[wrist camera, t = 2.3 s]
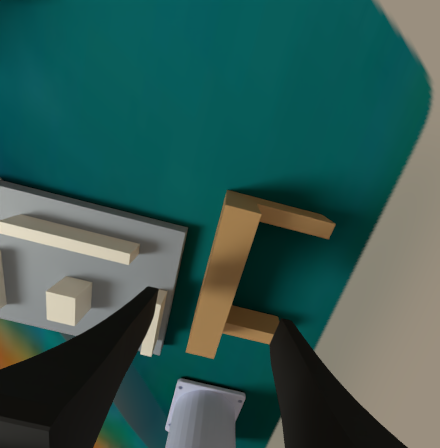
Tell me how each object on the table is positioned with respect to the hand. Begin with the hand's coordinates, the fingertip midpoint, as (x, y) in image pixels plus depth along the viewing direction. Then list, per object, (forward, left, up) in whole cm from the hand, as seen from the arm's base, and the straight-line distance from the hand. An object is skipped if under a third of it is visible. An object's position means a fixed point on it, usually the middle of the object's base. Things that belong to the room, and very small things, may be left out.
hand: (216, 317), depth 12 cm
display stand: (-5, +12, -7) cm, 15 cm away
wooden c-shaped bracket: (0, -3, -7) cm, 8 cm away
